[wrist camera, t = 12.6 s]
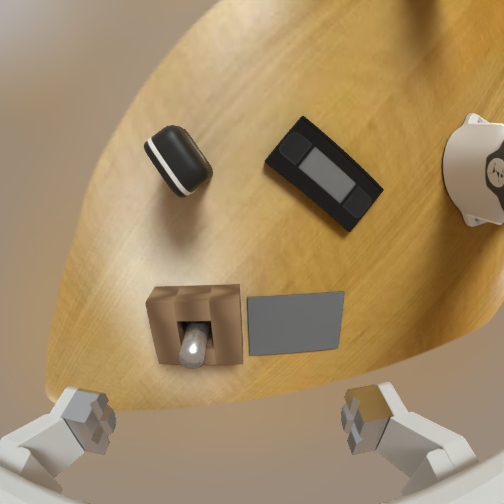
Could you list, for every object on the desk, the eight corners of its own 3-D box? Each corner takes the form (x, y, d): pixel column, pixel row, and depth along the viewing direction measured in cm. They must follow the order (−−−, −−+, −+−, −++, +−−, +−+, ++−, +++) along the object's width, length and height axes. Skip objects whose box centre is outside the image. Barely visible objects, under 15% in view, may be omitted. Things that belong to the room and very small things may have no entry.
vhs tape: (344, 229, 40) (349, 232, 38) (263, 161, 37) (265, 161, 35) (377, 188, 38) (383, 189, 36) (299, 117, 35) (303, 115, 33)
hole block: (239, 284, 41) (239, 300, 36) (242, 343, 44) (243, 364, 39) (155, 286, 41) (145, 302, 36) (166, 344, 44) (159, 364, 39)
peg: (209, 307, 42) (202, 348, 32) (211, 325, 43) (205, 368, 33) (189, 308, 42) (176, 348, 32) (191, 326, 43) (180, 368, 33)
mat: (343, 291, 42) (344, 292, 41) (337, 346, 45) (337, 348, 44) (247, 296, 42) (247, 298, 41) (249, 353, 45) (250, 355, 44)
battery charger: (221, 173, 36) (213, 178, 25) (197, 190, 37) (179, 202, 26) (191, 128, 35) (170, 116, 24) (166, 146, 35) (136, 141, 24)
